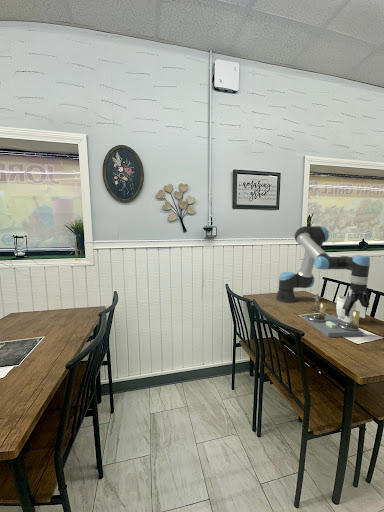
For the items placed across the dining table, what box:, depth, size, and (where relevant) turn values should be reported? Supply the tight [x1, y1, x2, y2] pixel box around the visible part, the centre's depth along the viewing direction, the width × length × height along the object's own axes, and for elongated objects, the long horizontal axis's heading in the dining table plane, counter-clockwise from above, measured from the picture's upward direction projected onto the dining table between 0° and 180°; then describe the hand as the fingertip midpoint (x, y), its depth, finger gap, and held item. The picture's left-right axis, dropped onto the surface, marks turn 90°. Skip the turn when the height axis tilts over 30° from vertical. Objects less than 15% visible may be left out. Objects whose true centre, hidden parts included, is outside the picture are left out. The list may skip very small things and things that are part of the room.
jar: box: [335, 295, 357, 324], centre depth 142 cm, size 11×10×15 cm
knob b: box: [338, 309, 360, 331], centre depth 127 cm, size 10×10×11 cm
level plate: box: [303, 314, 363, 338], centre depth 133 cm, size 24×20×5 cm
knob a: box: [306, 302, 327, 322], centre depth 138 cm, size 10×10×11 cm
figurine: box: [308, 293, 324, 313], centre depth 161 cm, size 11×7×12 cm, turn 79°
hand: (354, 319), depth 124 cm, fingers open, 13 cm apart
